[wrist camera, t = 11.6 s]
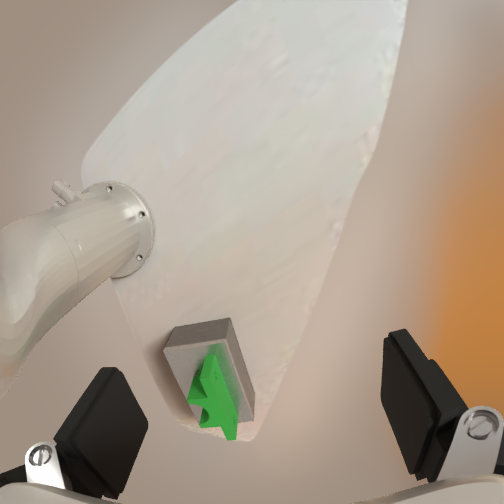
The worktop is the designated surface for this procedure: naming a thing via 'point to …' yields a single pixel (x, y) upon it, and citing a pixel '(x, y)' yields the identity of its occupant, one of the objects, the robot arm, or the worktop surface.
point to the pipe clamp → (213, 399)
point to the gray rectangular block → (228, 357)
